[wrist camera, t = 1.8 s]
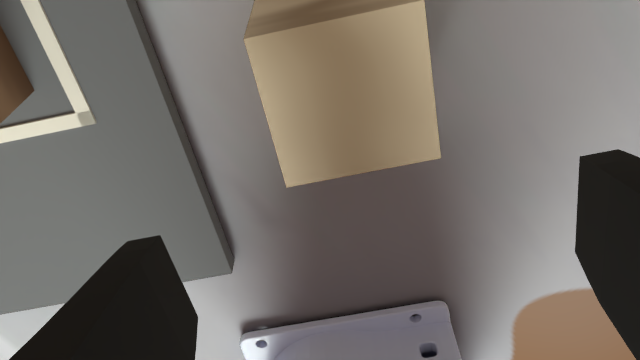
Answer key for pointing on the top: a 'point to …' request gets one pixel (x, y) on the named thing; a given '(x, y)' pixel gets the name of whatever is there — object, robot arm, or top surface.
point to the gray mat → (94, 155)
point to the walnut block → (11, 79)
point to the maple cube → (344, 85)
